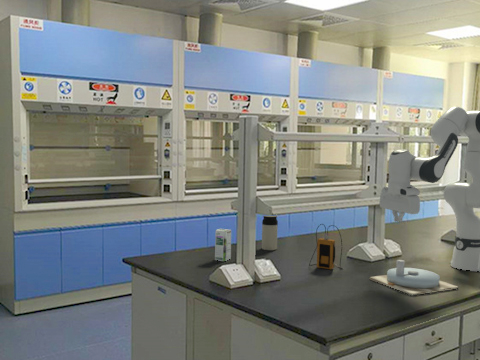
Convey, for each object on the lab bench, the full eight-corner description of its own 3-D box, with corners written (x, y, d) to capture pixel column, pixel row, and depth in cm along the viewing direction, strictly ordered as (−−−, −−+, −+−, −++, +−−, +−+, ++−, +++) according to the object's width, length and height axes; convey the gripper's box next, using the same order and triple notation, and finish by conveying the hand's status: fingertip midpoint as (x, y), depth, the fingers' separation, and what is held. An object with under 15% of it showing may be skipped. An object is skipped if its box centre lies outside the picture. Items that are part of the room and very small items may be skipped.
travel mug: (273, 251, 258) (274, 216, 257) (259, 249, 262) (260, 215, 260) (279, 248, 265) (280, 214, 264) (265, 246, 269) (266, 213, 267)
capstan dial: (412, 272, 218) (413, 252, 217) (450, 284, 200) (451, 262, 199) (376, 276, 209) (377, 256, 208) (412, 290, 191) (413, 267, 190)
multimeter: (347, 266, 231) (348, 223, 229) (339, 271, 222) (341, 226, 220) (316, 262, 238) (318, 220, 236) (308, 266, 230) (310, 222, 228)
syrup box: (214, 260, 237) (214, 229, 236) (220, 257, 242) (221, 228, 241) (225, 262, 234) (225, 231, 233) (231, 259, 240) (231, 229, 238)
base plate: (413, 273, 220) (413, 270, 220) (458, 289, 199) (458, 285, 199) (369, 279, 210) (369, 275, 210) (411, 296, 189) (412, 292, 188)
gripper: (376, 186, 219) (375, 218, 220) (411, 192, 200) (410, 226, 202) (387, 185, 221) (386, 217, 223) (422, 191, 203) (421, 224, 204)
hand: (398, 221), depth 212 cm, fingers closed
